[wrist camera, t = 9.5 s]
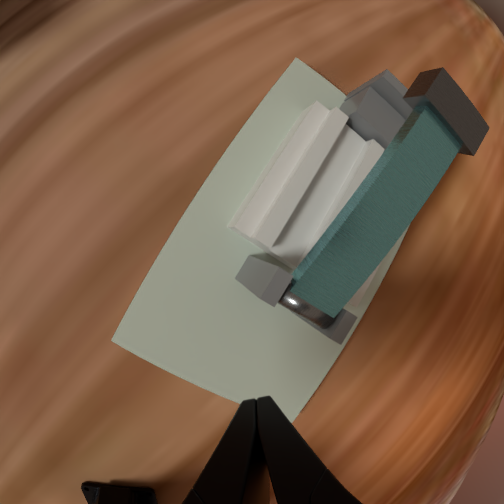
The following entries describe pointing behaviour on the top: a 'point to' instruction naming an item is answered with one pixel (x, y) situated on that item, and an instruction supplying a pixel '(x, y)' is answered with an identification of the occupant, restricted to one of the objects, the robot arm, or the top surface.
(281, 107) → the heatsink board
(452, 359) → the top surface
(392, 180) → the lever
